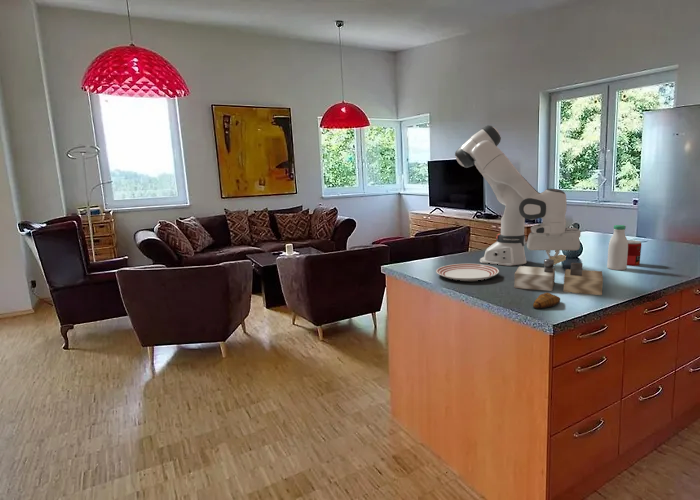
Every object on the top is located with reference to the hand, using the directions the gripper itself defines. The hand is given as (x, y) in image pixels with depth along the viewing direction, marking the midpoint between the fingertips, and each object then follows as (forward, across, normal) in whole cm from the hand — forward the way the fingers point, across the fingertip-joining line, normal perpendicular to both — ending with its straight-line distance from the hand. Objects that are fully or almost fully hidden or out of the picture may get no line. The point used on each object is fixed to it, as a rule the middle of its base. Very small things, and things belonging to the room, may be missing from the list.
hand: (552, 260), depth 191 cm
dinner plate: (+9, +35, -4) cm, 36 cm away
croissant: (+8, +9, +37) cm, 39 cm away
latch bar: (0, 0, +5) cm, 5 cm away
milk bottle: (+9, -33, -23) cm, 41 cm away
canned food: (+9, -42, -33) cm, 54 cm away
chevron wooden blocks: (+8, 0, +12) cm, 14 cm away
